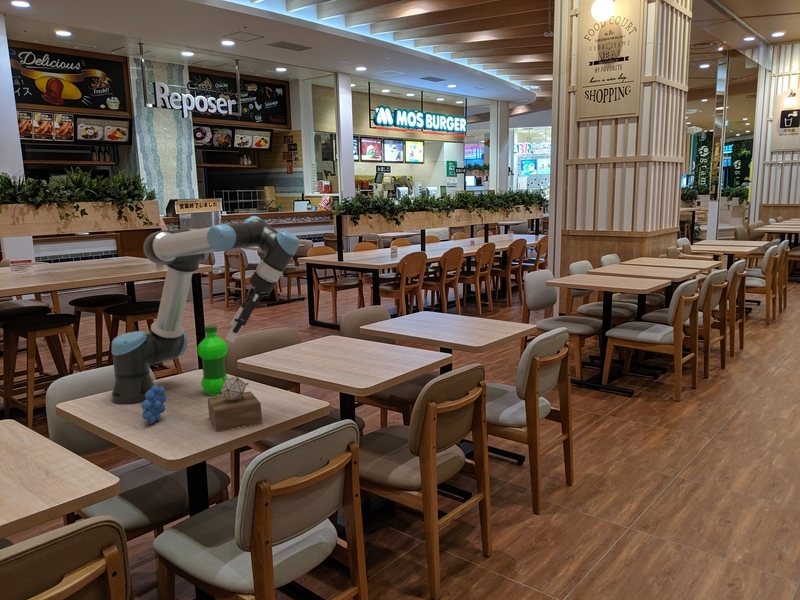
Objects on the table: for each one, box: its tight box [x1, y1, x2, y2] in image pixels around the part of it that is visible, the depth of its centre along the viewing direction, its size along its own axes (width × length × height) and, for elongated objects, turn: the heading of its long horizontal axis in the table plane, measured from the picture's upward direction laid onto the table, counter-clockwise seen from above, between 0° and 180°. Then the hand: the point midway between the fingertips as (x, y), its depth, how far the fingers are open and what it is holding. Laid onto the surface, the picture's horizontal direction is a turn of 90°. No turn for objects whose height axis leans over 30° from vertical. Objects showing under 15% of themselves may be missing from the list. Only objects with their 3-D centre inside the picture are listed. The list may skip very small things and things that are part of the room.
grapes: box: [141, 384, 168, 425], centre depth 197 cm, size 12×7×12 cm, turn 167°
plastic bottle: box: [197, 325, 229, 396], centre depth 223 cm, size 10×10×25 cm
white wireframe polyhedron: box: [218, 373, 249, 403], centre depth 195 cm, size 9×8×10 cm
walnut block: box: [207, 391, 263, 432], centre depth 196 cm, size 14×14×7 cm
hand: (231, 332), depth 193 cm, fingers open, 13 cm apart
